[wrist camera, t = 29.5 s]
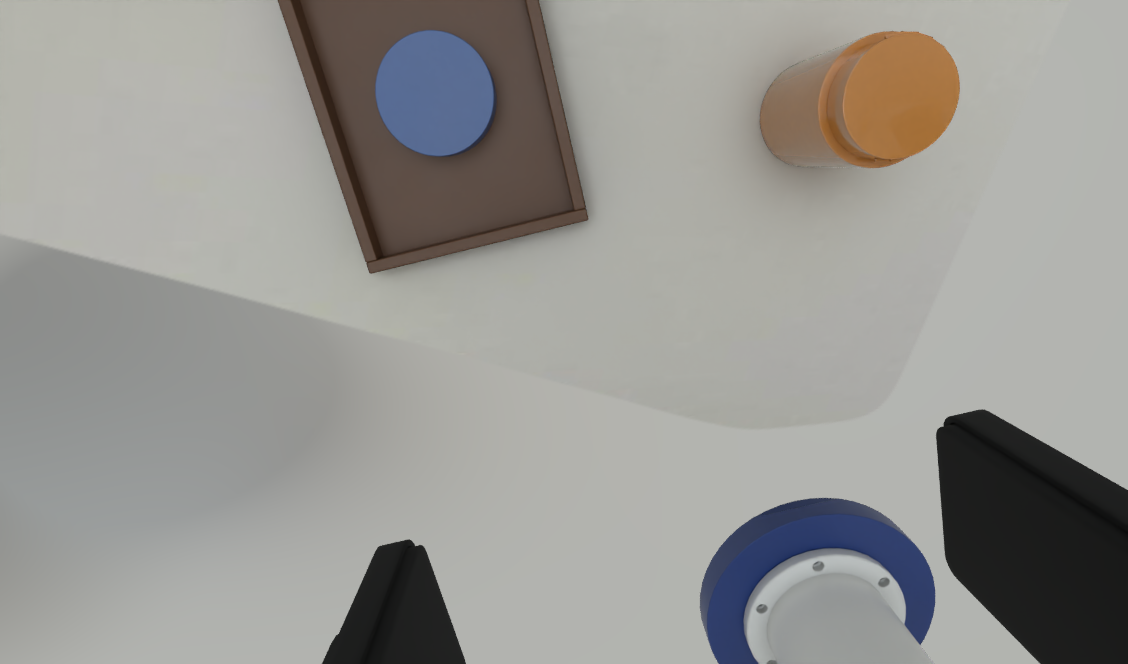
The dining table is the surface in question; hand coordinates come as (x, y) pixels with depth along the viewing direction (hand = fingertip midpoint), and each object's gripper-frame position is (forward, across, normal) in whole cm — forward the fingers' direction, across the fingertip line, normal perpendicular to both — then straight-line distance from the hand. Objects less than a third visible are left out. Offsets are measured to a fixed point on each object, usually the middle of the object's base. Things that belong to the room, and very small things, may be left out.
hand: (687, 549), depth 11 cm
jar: (+28, -15, -6) cm, 33 cm away
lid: (+26, +6, -12) cm, 29 cm away
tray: (+28, +6, -12) cm, 31 cm away
